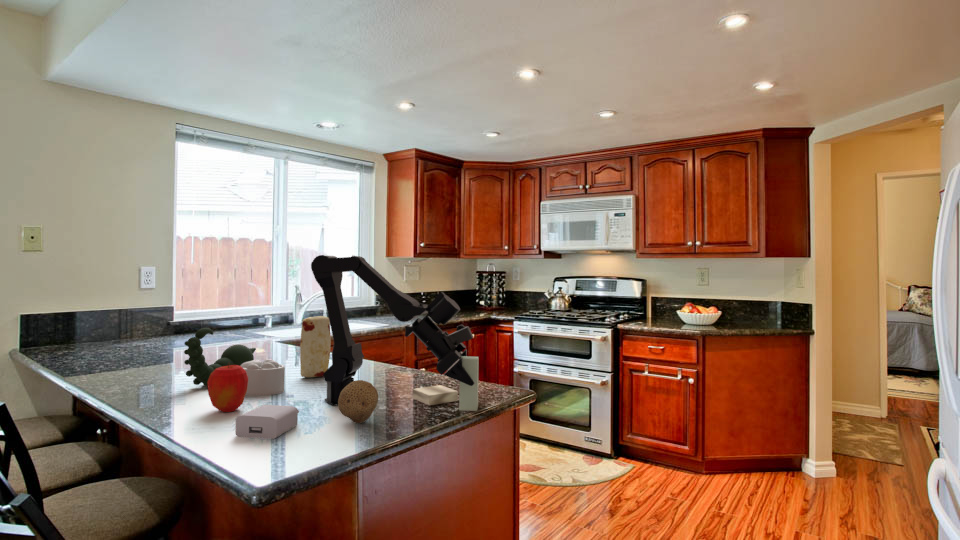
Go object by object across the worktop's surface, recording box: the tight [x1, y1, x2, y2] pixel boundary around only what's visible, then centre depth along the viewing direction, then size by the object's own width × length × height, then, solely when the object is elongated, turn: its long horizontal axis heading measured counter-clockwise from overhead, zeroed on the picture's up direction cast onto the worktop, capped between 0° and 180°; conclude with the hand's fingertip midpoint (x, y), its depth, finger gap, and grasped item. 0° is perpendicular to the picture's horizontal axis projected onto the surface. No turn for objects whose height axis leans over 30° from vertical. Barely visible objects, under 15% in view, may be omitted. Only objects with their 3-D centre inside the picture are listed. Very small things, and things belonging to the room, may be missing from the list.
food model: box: [299, 315, 332, 378], centre depth 167 cm, size 10×7×20 cm
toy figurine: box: [183, 327, 257, 387], centre depth 156 cm, size 9×19×25 cm
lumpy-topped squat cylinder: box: [240, 358, 286, 396], centre depth 147 cm, size 10×13×9 cm
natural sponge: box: [337, 379, 379, 425], centre depth 117 cm, size 9×9×10 cm
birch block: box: [412, 384, 459, 406], centre depth 140 cm, size 9×9×3 cm
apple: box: [207, 363, 248, 413], centre depth 126 cm, size 9×9×12 cm
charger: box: [234, 404, 300, 440], centre depth 113 cm, size 5×9×15 cm
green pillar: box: [458, 355, 480, 412], centre depth 131 cm, size 4×4×13 cm
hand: (474, 380), depth 131 cm, fingers open, 9 cm apart
